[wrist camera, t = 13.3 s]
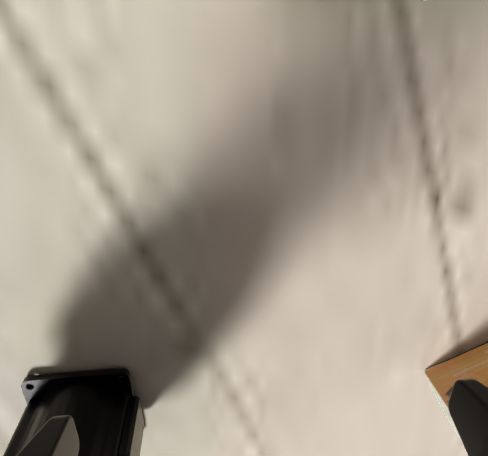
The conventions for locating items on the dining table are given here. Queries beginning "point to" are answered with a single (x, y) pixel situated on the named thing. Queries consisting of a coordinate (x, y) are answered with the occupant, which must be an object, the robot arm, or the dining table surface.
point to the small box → (457, 375)
